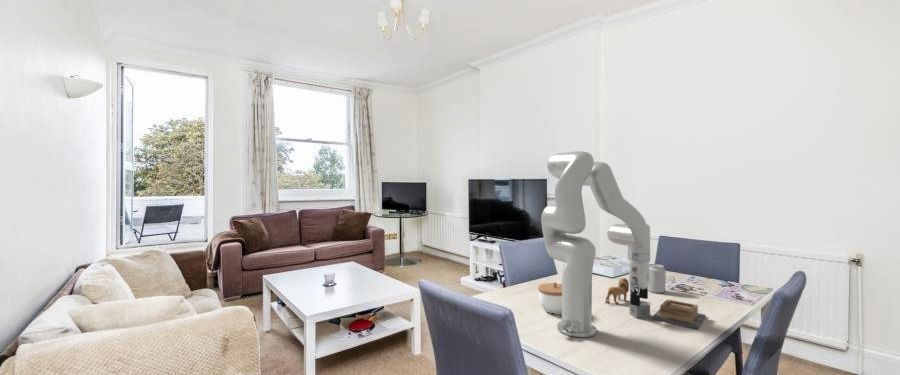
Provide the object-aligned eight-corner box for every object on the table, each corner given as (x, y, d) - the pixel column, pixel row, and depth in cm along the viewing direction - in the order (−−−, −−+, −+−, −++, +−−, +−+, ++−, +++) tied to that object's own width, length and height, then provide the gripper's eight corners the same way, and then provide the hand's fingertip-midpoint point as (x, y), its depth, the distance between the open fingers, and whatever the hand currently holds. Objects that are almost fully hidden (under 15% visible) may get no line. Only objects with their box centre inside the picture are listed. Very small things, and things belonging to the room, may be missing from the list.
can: (642, 290, 171) (642, 264, 171) (653, 288, 174) (654, 262, 174) (657, 294, 164) (658, 267, 164) (669, 292, 167) (669, 266, 167)
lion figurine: (619, 296, 162) (619, 276, 162) (631, 299, 158) (632, 278, 158) (602, 304, 152) (602, 282, 152) (615, 307, 148) (615, 284, 148)
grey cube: (642, 313, 141) (642, 300, 141) (650, 318, 136) (650, 305, 136) (629, 313, 141) (629, 300, 141) (636, 318, 136) (636, 305, 136)
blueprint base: (697, 329, 126) (697, 316, 126) (651, 319, 136) (651, 306, 136) (705, 316, 138) (705, 304, 138) (663, 307, 148) (663, 296, 147)
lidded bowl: (548, 318, 137) (548, 288, 136) (532, 307, 149) (532, 279, 148) (578, 315, 140) (579, 285, 140) (560, 304, 152) (560, 277, 152)
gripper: (642, 262, 131) (643, 310, 131) (656, 253, 143) (656, 297, 144) (620, 259, 136) (620, 305, 136) (635, 251, 148) (635, 293, 149)
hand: (639, 301), depth 140 cm, fingers open, 9 cm apart
